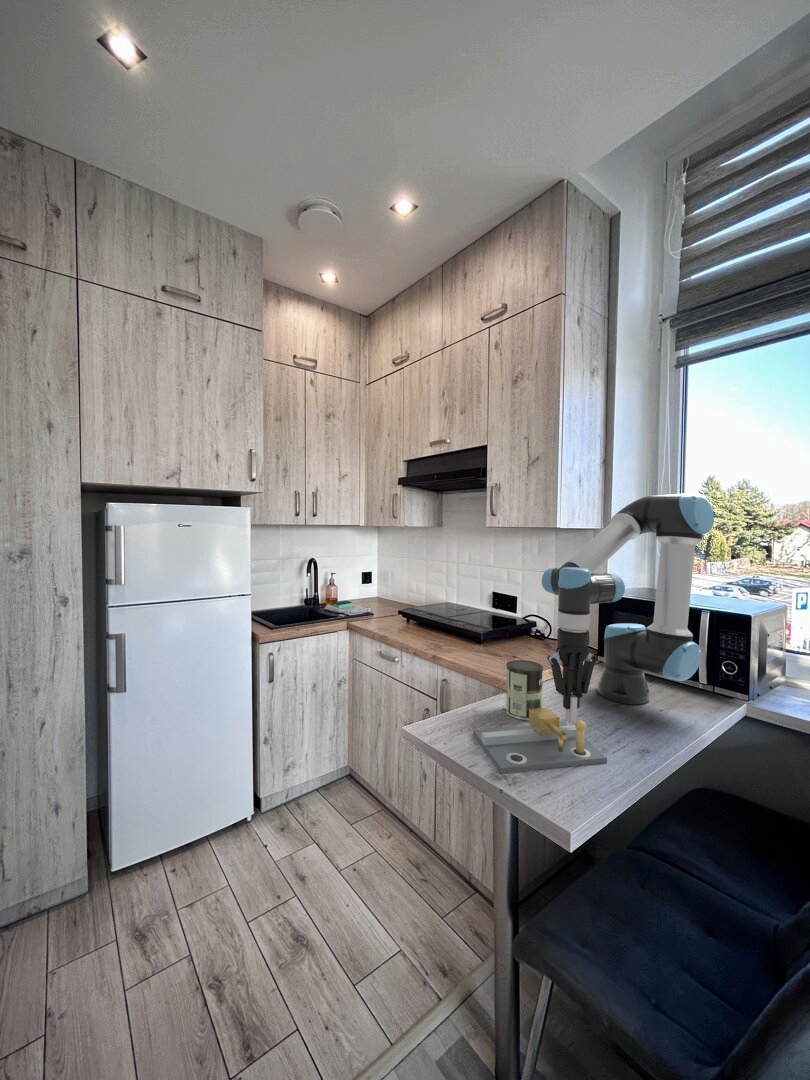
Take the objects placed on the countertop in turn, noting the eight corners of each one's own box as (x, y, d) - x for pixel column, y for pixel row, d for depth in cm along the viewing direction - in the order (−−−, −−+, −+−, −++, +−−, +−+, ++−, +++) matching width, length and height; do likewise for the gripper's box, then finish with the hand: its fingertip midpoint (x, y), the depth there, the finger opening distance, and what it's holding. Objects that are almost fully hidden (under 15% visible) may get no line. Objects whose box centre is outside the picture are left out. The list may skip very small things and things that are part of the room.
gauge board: (564, 726, 117) (565, 694, 117) (607, 762, 99) (608, 725, 99) (473, 734, 112) (473, 701, 112) (501, 773, 95) (501, 734, 94)
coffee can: (540, 707, 130) (541, 660, 129) (544, 722, 120) (545, 672, 119) (505, 704, 132) (505, 658, 131) (506, 718, 122) (506, 669, 121)
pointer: (546, 728, 112) (547, 707, 112) (574, 753, 99) (574, 730, 99) (528, 729, 111) (529, 708, 111) (554, 755, 98) (554, 731, 98)
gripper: (587, 624, 114) (585, 712, 114) (542, 626, 111) (539, 716, 112) (605, 631, 106) (603, 725, 107) (557, 633, 104) (555, 729, 105)
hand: (570, 720), depth 110 cm, fingers closed
